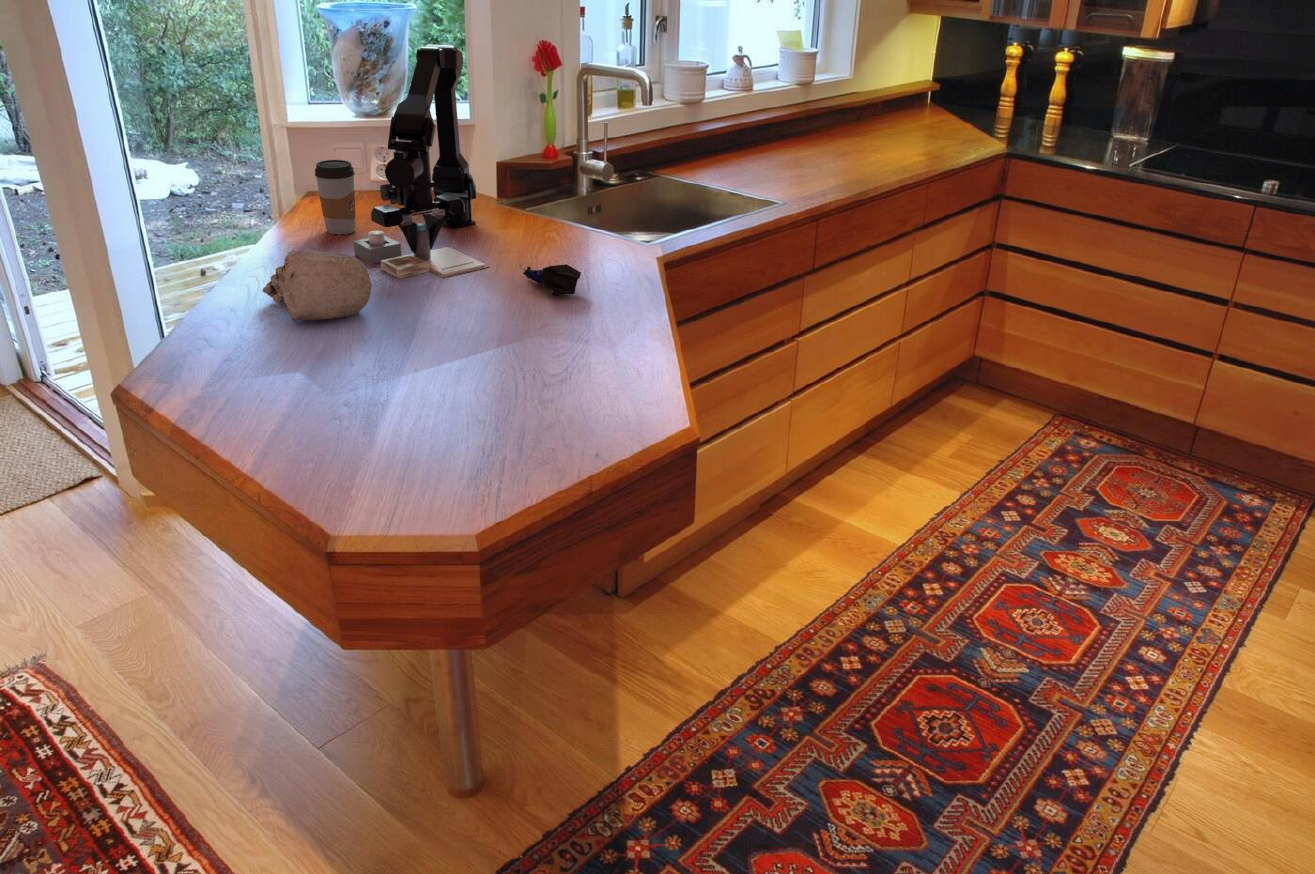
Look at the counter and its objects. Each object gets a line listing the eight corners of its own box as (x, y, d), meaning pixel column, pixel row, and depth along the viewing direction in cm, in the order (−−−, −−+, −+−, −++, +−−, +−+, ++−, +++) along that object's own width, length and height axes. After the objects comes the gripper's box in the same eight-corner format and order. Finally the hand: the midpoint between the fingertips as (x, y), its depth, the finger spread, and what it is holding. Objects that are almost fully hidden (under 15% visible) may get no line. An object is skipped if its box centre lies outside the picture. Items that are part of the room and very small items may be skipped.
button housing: (384, 248, 216) (383, 235, 215) (401, 257, 212) (400, 243, 210) (354, 254, 212) (353, 241, 211) (371, 263, 208) (370, 249, 206)
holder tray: (411, 262, 209) (410, 254, 209) (429, 271, 205) (429, 263, 204) (381, 269, 205) (380, 260, 204) (399, 278, 201) (398, 269, 200)
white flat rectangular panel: (449, 248, 218) (448, 245, 218) (489, 267, 209) (489, 264, 208) (403, 258, 211) (403, 255, 211) (442, 278, 202) (442, 275, 201)
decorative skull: (257, 241, 185) (271, 253, 168) (354, 242, 193) (378, 253, 176) (261, 309, 188) (275, 328, 171) (357, 307, 196) (379, 324, 179)
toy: (554, 267, 206) (592, 268, 194) (549, 298, 207) (587, 301, 195) (514, 258, 201) (551, 259, 189) (509, 290, 201) (546, 293, 189)
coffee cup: (349, 238, 222) (342, 170, 214) (314, 234, 223) (306, 166, 216) (366, 227, 229) (360, 161, 221) (332, 223, 230) (325, 157, 223)
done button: (380, 243, 213) (379, 229, 212) (388, 247, 211) (386, 233, 210) (366, 246, 211) (365, 232, 210) (374, 250, 209) (372, 236, 208)
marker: (425, 254, 211) (422, 221, 208) (433, 258, 209) (431, 225, 206) (410, 257, 209) (408, 224, 206) (419, 261, 207) (417, 228, 203)
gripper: (434, 161, 212) (439, 233, 219) (353, 173, 200) (361, 249, 208) (464, 172, 205) (468, 246, 212) (382, 186, 193) (389, 263, 201)
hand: (421, 251), depth 208 cm, fingers closed on marker, 3 cm apart
